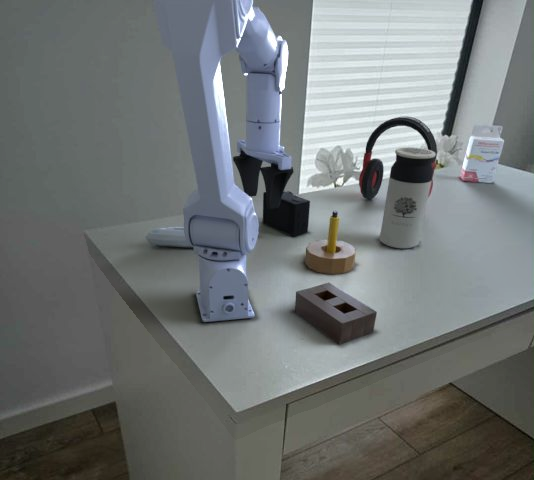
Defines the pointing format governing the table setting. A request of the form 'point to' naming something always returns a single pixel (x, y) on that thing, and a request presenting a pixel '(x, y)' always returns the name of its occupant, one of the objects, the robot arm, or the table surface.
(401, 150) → the travel mug
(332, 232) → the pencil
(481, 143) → the ink cartridge box
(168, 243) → the spaceship
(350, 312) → the pencil stand
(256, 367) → the table surface
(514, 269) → the table surface
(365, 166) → the headphones
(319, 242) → the tape roll
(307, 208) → the digital camera
